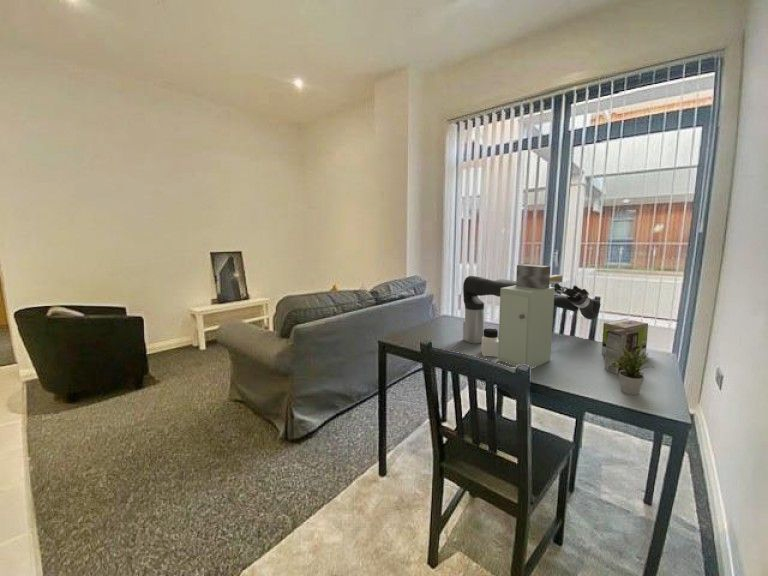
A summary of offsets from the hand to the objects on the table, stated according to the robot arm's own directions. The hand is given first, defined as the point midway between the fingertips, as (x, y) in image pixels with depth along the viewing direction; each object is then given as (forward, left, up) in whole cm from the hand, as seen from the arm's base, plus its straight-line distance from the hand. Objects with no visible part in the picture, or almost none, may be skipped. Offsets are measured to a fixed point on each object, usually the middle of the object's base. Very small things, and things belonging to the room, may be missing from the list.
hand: (564, 286), depth 162 cm
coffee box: (+29, -10, -29) cm, 42 cm away
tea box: (+23, +10, -29) cm, 39 cm away
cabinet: (0, -30, -29) cm, 42 cm away
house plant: (+38, -26, -29) cm, 55 cm away
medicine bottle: (-14, -35, -29) cm, 48 cm away
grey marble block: (0, -17, +3) cm, 18 cm away
